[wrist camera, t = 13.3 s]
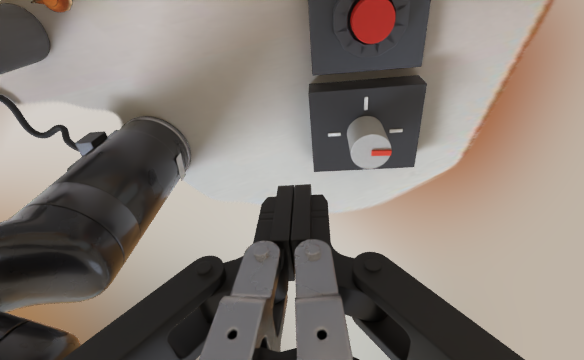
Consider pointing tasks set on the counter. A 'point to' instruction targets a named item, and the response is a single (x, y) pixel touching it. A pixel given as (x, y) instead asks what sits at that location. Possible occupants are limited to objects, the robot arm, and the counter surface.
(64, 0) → the reddish brown rounded piece
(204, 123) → the counter surface
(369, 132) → the timer knob
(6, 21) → the bottle
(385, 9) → the power button
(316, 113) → the panel
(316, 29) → the power block
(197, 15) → the counter surface
